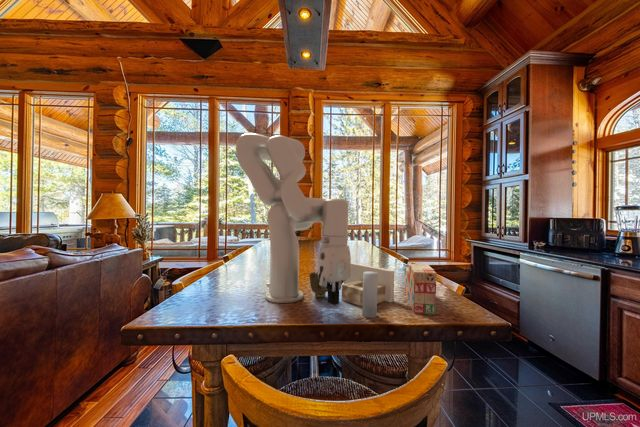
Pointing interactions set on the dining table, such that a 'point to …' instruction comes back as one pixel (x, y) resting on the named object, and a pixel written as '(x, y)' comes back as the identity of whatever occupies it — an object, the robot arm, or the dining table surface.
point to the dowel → (369, 294)
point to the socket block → (360, 292)
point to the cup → (317, 286)
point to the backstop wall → (383, 278)
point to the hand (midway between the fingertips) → (333, 303)
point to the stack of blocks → (421, 288)
